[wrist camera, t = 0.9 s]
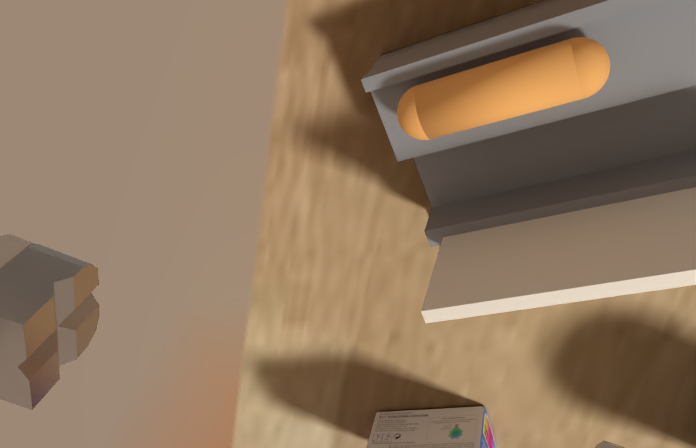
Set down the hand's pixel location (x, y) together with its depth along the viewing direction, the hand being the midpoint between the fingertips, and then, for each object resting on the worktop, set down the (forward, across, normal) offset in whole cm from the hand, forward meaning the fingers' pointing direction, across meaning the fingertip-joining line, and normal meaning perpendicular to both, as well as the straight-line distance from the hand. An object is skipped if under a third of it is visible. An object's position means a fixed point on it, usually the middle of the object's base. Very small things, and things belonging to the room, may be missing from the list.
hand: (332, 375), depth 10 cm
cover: (+23, -11, +9) cm, 27 cm away
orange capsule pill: (+26, -2, +4) cm, 26 cm away
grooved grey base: (+31, -9, +6) cm, 33 cm away
